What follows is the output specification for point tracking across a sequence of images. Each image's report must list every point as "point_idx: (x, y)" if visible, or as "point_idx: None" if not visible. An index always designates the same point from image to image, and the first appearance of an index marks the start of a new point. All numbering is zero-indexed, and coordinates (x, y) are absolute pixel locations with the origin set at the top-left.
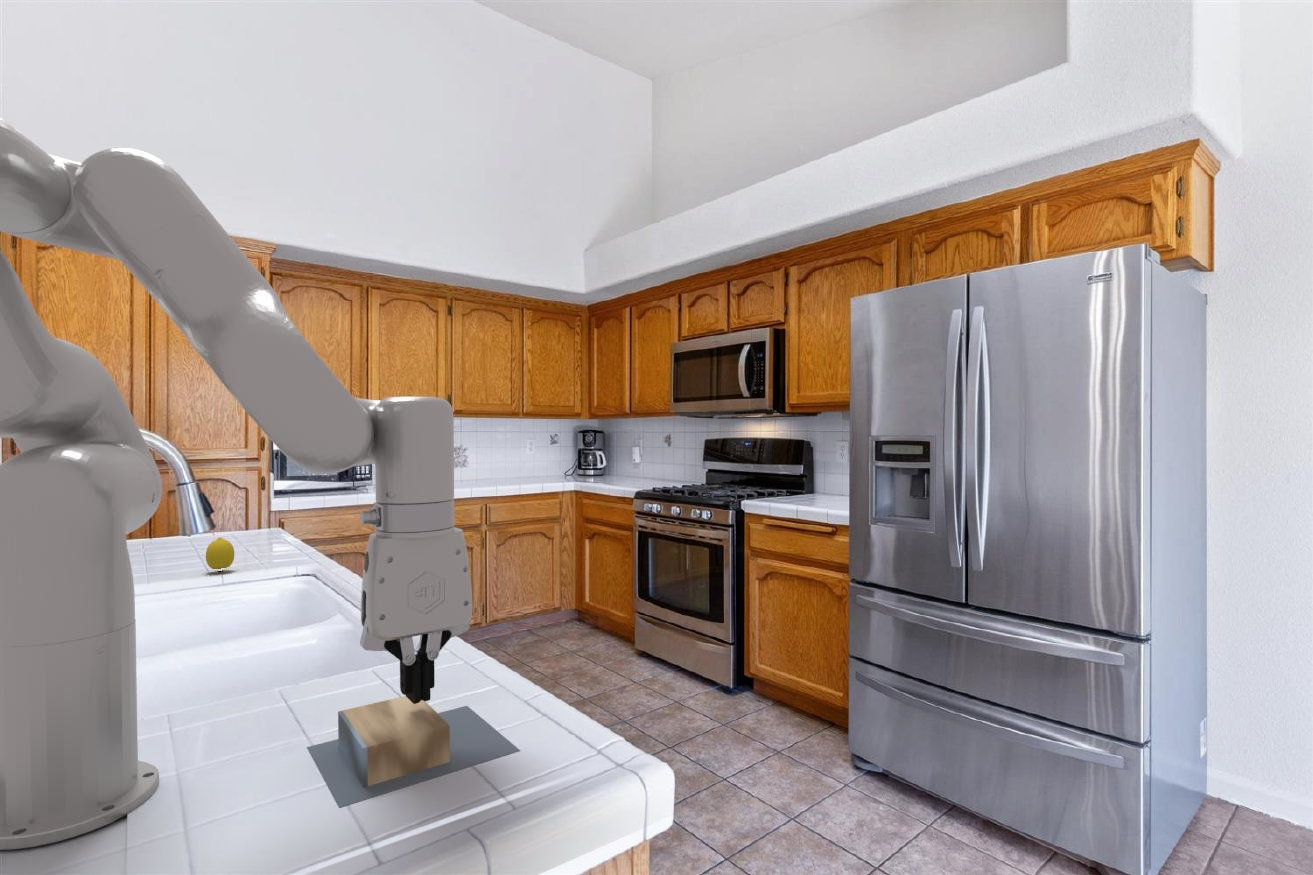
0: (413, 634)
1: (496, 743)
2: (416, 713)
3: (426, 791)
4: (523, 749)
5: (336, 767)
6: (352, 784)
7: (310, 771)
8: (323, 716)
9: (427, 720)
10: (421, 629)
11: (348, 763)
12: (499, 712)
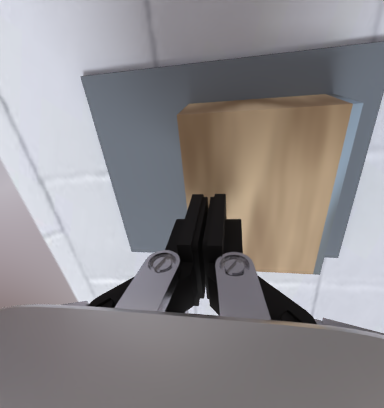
0: (235, 319)
1: (112, 123)
2: None
3: (246, 31)
4: (78, 91)
5: None
6: None
7: (358, 201)
8: None
9: (208, 161)
10: (191, 333)
11: None
12: (97, 219)
